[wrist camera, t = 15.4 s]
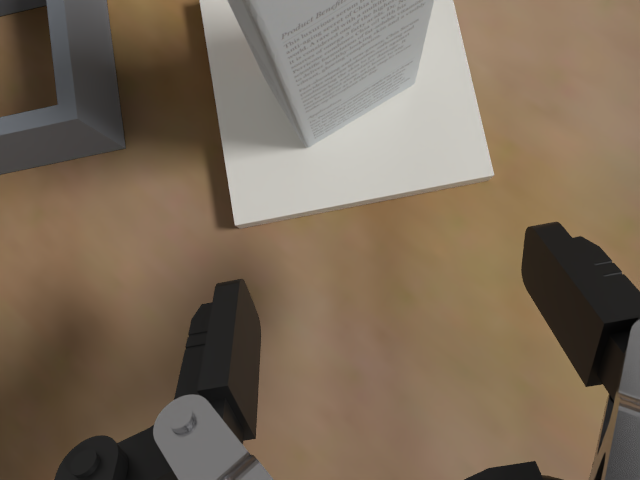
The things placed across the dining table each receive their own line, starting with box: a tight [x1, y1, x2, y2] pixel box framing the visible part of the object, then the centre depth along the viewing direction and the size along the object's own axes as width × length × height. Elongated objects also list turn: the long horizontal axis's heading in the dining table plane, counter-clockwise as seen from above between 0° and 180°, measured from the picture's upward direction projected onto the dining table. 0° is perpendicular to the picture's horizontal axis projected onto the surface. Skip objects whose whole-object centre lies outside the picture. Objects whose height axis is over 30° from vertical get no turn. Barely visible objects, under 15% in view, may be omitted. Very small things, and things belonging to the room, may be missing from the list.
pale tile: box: [200, 0, 494, 229], centre depth 22 cm, size 12×12×1 cm
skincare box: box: [227, 0, 434, 147], centre depth 16 cm, size 6×4×12 cm
